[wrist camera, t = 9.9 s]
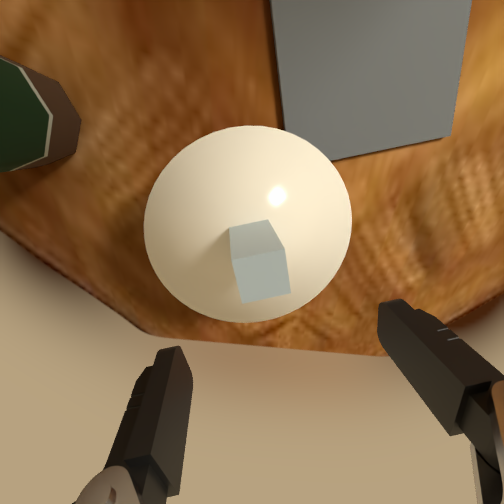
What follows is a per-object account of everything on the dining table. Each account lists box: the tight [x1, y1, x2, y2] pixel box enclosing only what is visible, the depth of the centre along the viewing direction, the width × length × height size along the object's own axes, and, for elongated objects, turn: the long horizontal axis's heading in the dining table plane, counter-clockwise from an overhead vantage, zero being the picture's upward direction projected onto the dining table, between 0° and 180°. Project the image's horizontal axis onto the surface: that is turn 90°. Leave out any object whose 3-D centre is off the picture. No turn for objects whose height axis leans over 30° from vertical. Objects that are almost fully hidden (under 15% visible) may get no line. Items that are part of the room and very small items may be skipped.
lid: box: [144, 126, 352, 323], centre depth 17 cm, size 16×16×6 cm
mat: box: [270, 0, 472, 161], centre depth 22 cm, size 17×17×1 cm
